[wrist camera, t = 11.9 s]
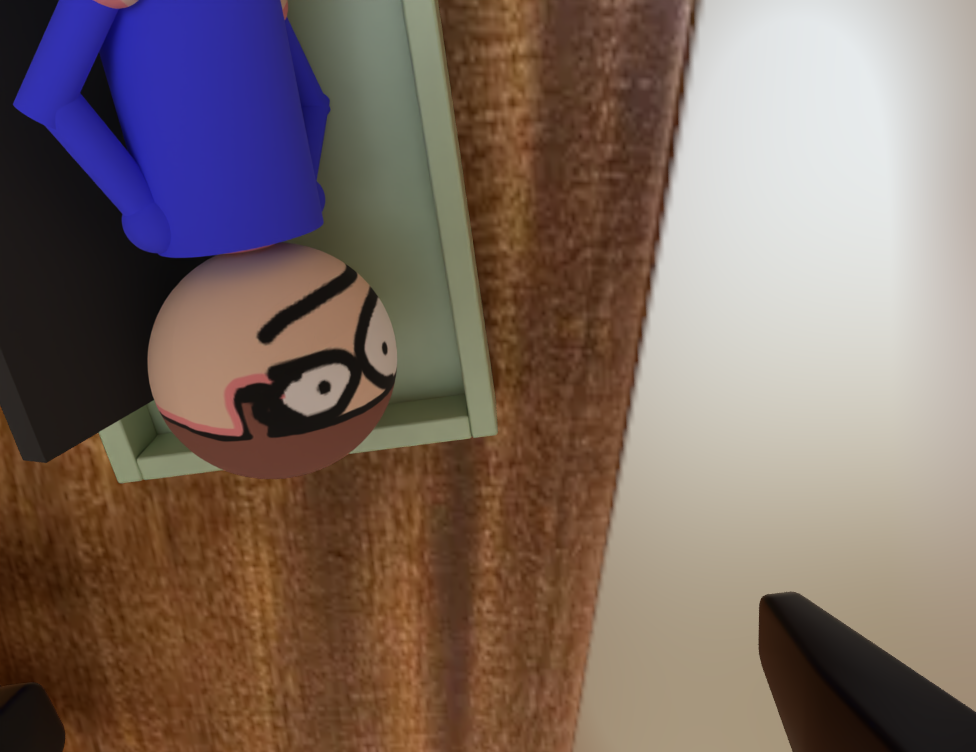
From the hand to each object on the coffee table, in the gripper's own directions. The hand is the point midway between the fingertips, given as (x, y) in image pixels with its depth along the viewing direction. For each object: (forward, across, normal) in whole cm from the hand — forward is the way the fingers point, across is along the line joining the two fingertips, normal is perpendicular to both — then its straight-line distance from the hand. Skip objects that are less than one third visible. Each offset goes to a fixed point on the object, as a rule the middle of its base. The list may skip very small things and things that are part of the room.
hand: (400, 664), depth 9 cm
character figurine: (+12, +4, -6) cm, 14 cm away
